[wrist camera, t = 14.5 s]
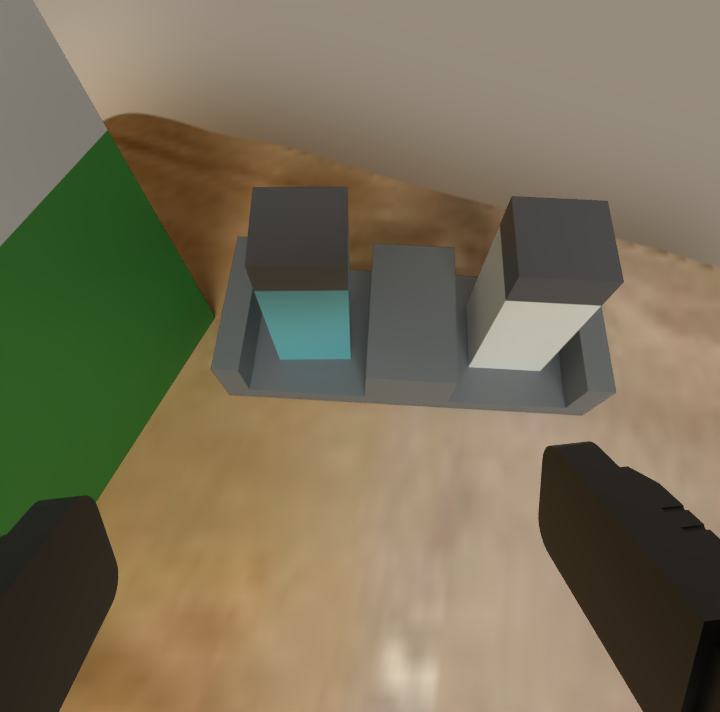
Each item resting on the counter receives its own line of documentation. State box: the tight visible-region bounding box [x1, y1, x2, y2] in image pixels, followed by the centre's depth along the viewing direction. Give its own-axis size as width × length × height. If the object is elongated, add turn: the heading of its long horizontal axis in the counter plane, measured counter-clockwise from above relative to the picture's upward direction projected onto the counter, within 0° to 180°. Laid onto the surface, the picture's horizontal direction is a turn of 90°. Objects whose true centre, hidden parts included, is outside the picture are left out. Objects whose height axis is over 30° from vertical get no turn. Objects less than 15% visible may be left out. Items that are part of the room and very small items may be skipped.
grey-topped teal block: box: [245, 187, 351, 360], centre depth 26 cm, size 4×4×10 cm
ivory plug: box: [466, 196, 624, 371], centre depth 25 cm, size 4×4×10 cm
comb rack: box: [211, 237, 616, 415], centre depth 29 cm, size 22×9×4 cm, turn 87°
